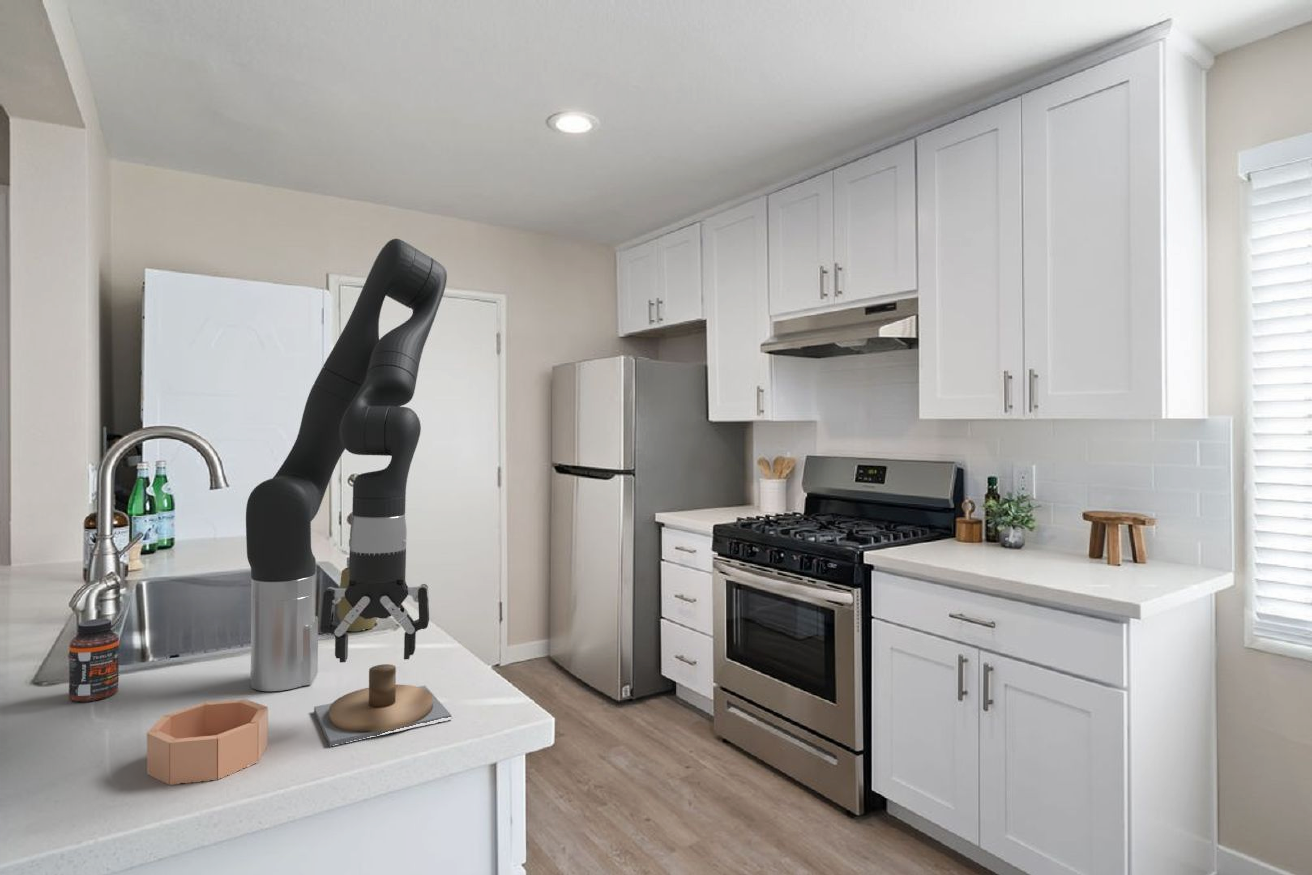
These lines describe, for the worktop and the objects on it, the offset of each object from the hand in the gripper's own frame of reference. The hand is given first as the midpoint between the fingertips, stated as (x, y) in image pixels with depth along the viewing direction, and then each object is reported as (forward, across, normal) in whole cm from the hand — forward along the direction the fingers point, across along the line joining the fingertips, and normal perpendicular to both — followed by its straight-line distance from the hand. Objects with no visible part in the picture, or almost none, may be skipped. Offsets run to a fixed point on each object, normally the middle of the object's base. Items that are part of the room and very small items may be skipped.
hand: (375, 659), depth 102 cm
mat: (+9, -1, -1) cm, 9 cm away
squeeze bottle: (+9, +9, -46) cm, 48 cm away
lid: (+8, -1, -1) cm, 8 cm away
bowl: (+9, +18, +8) cm, 22 cm away
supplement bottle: (+9, +42, -16) cm, 46 cm away
